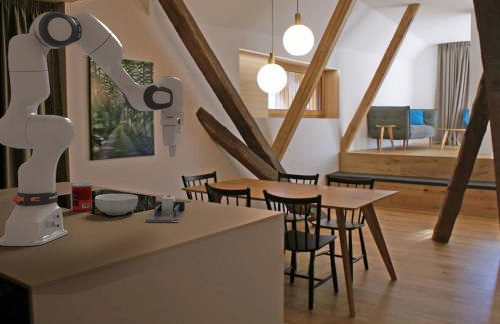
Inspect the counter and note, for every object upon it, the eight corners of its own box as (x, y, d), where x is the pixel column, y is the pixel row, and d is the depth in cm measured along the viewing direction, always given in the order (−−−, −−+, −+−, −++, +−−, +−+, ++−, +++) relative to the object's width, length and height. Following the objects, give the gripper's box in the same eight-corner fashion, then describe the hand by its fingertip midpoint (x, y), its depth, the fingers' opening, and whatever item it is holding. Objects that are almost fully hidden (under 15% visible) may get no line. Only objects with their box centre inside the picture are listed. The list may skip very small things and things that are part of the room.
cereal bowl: (122, 219, 179) (122, 200, 178) (86, 215, 184) (85, 198, 183) (145, 211, 195) (145, 194, 194) (112, 208, 200) (111, 192, 199)
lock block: (172, 213, 186) (172, 197, 185) (161, 213, 186) (161, 196, 185) (175, 210, 193) (175, 194, 192) (164, 210, 193) (164, 194, 192)
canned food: (95, 208, 199) (94, 183, 198) (86, 212, 191) (86, 185, 190) (77, 208, 199) (77, 182, 198) (68, 211, 191) (68, 185, 191)
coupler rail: (178, 222, 174) (178, 210, 173) (145, 222, 174) (145, 210, 173) (185, 211, 196) (185, 200, 195) (156, 211, 196) (156, 200, 195)
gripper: (168, 120, 187) (168, 154, 188) (159, 120, 167) (159, 158, 168) (184, 120, 187) (184, 155, 188) (177, 120, 167) (177, 158, 168)
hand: (172, 156), depth 178 cm, fingers closed
